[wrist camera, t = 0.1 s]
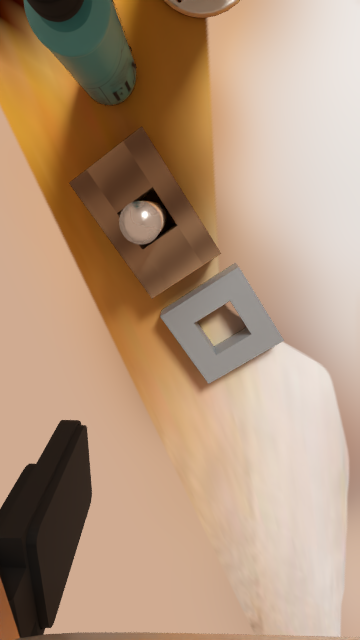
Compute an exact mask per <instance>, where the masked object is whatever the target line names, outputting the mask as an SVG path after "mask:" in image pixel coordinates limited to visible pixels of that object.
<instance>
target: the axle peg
mask: <svg viewBox="0 0 360 640" xmlns="http://www.w3.org/2000/svg"><path fill="white" fill-rule="evenodd" d="M166 220H167V215H166V211H165V209H164V208H163V206H162V205H161V204H159V203H158V202H155V201H135V202H132V203H130V204H128V205H127V206H126V207H125V208H124V209H123V210H122V212H121V214H120V218H119V226H120V230H121V232H122V234H123V235H124V237H125V238H126V239H127V240H129V241H130V242H132V243H135V244H147V243H150V242H151V241H153V240H154V239H155V238H156V237H157V236H158V234H159V233H160V231H161V230H162V229H163V227H164V226H165V224H166Z"/></svg>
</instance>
